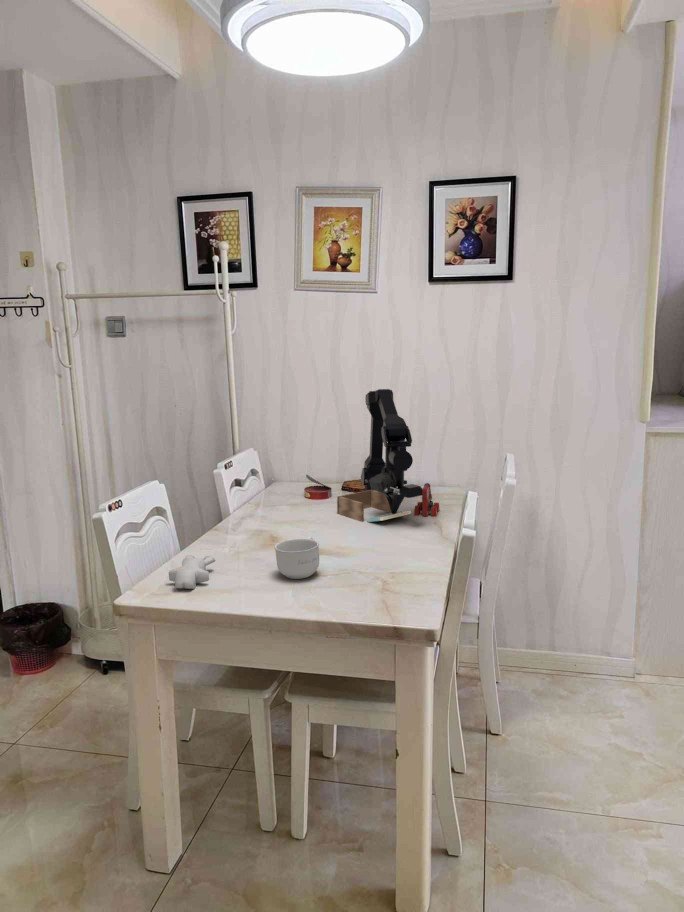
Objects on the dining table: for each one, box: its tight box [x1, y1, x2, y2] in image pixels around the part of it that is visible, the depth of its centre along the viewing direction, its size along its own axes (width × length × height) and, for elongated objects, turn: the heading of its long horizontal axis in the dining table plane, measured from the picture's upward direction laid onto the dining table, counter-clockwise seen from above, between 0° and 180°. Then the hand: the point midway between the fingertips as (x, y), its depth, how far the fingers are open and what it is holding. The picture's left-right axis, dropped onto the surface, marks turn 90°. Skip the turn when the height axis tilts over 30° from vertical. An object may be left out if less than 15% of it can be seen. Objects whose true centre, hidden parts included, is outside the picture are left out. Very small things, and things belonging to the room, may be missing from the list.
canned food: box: [304, 474, 333, 501], centre depth 244 cm, size 11×10×10 cm
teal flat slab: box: [366, 510, 412, 523], centre depth 208 cm, size 1×12×7 cm
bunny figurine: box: [168, 554, 216, 590], centre depth 163 cm, size 10×5×15 cm
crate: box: [336, 490, 392, 523], centre depth 216 cm, size 12×14×7 cm
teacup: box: [274, 536, 320, 580], centre depth 167 cm, size 14×11×8 cm
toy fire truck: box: [413, 482, 440, 518], centre depth 217 cm, size 7×12×10 cm, turn 165°
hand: (394, 514), depth 206 cm, fingers closed, pressing on teal flat slab
